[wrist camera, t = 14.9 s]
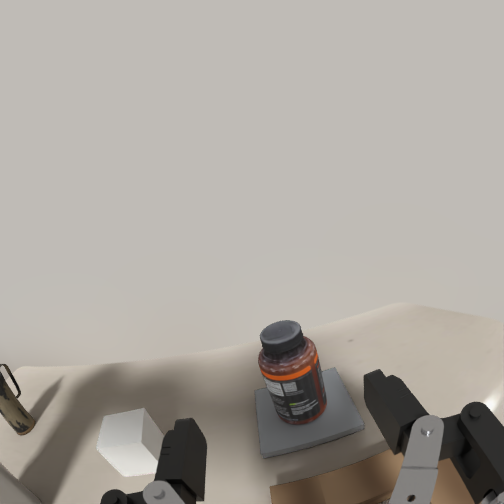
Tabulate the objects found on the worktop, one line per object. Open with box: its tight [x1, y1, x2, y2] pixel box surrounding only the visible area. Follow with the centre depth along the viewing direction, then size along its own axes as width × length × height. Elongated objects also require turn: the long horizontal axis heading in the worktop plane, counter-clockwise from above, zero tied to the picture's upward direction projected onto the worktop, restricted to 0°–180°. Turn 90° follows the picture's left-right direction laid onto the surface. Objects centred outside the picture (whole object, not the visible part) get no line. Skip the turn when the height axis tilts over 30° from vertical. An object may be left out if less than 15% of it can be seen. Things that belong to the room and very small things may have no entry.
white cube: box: [96, 408, 165, 477], centre depth 24 cm, size 6×6×6 cm
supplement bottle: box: [258, 320, 327, 425], centre depth 27 cm, size 6×6×11 cm
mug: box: [0, 364, 35, 435], centre depth 29 cm, size 8×6×12 cm
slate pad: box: [255, 367, 364, 458], centre depth 28 cm, size 11×11×1 cm
